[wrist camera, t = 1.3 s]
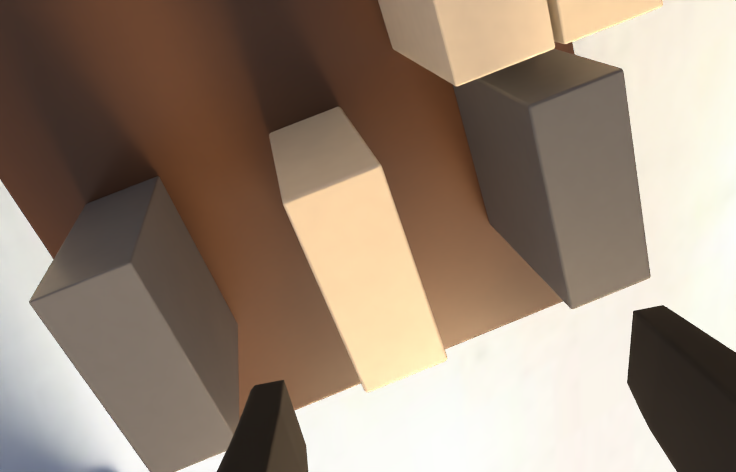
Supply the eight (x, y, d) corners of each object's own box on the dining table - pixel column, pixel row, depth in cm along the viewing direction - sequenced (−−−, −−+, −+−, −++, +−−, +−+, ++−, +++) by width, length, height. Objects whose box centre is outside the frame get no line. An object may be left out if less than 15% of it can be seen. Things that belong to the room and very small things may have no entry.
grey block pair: (174, 350, 22) (155, 480, 16) (85, 203, 19) (27, 302, 14) (550, 199, 22) (652, 278, 17) (516, 36, 19) (624, 67, 14)
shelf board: (185, 437, 24) (183, 456, 24) (-145, -68, 16) (-167, -69, 15) (599, 270, 25) (613, 281, 24) (498, -303, 17) (513, -317, 16)
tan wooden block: (333, 287, 22) (366, 395, 16) (267, 132, 19) (281, 202, 14) (396, 262, 22) (448, 361, 17) (339, 105, 19) (380, 163, 14)
